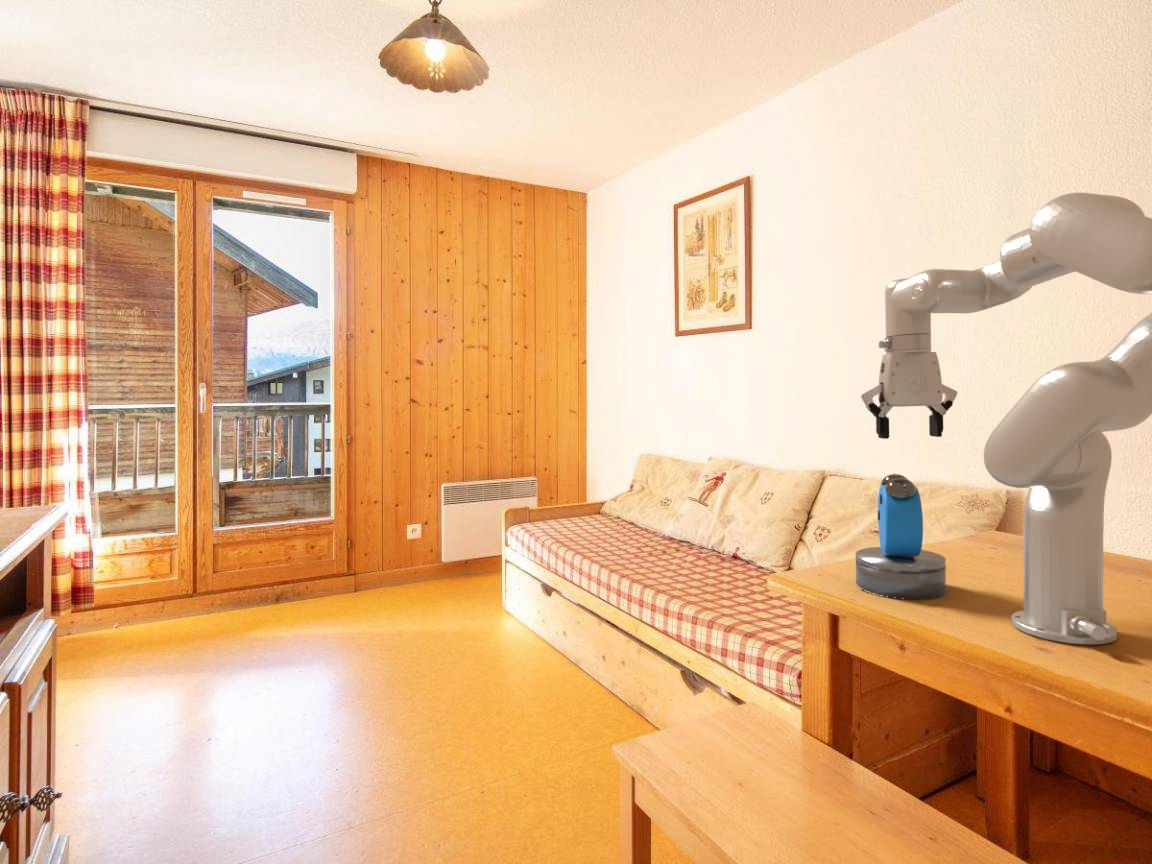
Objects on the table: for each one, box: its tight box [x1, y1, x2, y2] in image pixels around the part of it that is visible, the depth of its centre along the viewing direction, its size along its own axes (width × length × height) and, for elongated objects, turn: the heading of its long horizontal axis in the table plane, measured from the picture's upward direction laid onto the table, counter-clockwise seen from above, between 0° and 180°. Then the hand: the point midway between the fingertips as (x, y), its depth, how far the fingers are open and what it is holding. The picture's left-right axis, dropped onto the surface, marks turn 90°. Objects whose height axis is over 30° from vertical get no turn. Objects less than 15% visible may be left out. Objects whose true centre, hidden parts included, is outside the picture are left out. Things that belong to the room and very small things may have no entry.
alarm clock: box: [877, 473, 924, 561], centre depth 120 cm, size 13×6×15 cm, turn 161°
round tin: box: [855, 546, 947, 601], centre depth 120 cm, size 15×15×6 cm
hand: (909, 437), depth 121 cm, fingers open, 9 cm apart
